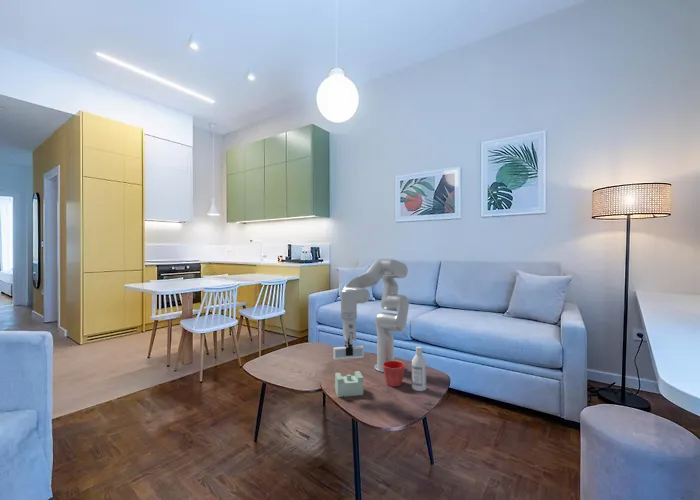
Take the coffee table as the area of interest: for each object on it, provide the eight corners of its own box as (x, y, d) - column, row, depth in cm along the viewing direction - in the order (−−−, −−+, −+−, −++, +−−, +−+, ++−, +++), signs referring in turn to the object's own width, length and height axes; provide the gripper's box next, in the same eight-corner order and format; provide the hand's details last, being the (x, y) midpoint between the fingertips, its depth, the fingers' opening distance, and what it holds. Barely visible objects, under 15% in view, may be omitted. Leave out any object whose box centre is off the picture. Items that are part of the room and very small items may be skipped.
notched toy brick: (359, 387, 154) (359, 371, 154) (363, 394, 146) (363, 377, 146) (335, 389, 152) (335, 372, 152) (337, 397, 144) (337, 379, 144)
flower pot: (379, 381, 161) (379, 362, 161) (397, 377, 166) (397, 359, 166) (389, 389, 152) (389, 369, 152) (408, 385, 156) (408, 366, 156)
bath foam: (419, 384, 158) (419, 344, 158) (429, 389, 151) (429, 348, 151) (408, 387, 154) (408, 346, 154) (418, 392, 148) (418, 350, 148)
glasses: (362, 356, 152) (362, 345, 152) (363, 357, 149) (363, 347, 149) (333, 357, 149) (333, 347, 149) (334, 359, 146) (334, 349, 146)
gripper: (360, 318, 142) (360, 359, 142) (353, 312, 158) (353, 348, 158) (343, 319, 140) (343, 360, 140) (338, 312, 156) (338, 349, 156)
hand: (348, 354), depth 149 cm, fingers closed on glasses, 2 cm apart
